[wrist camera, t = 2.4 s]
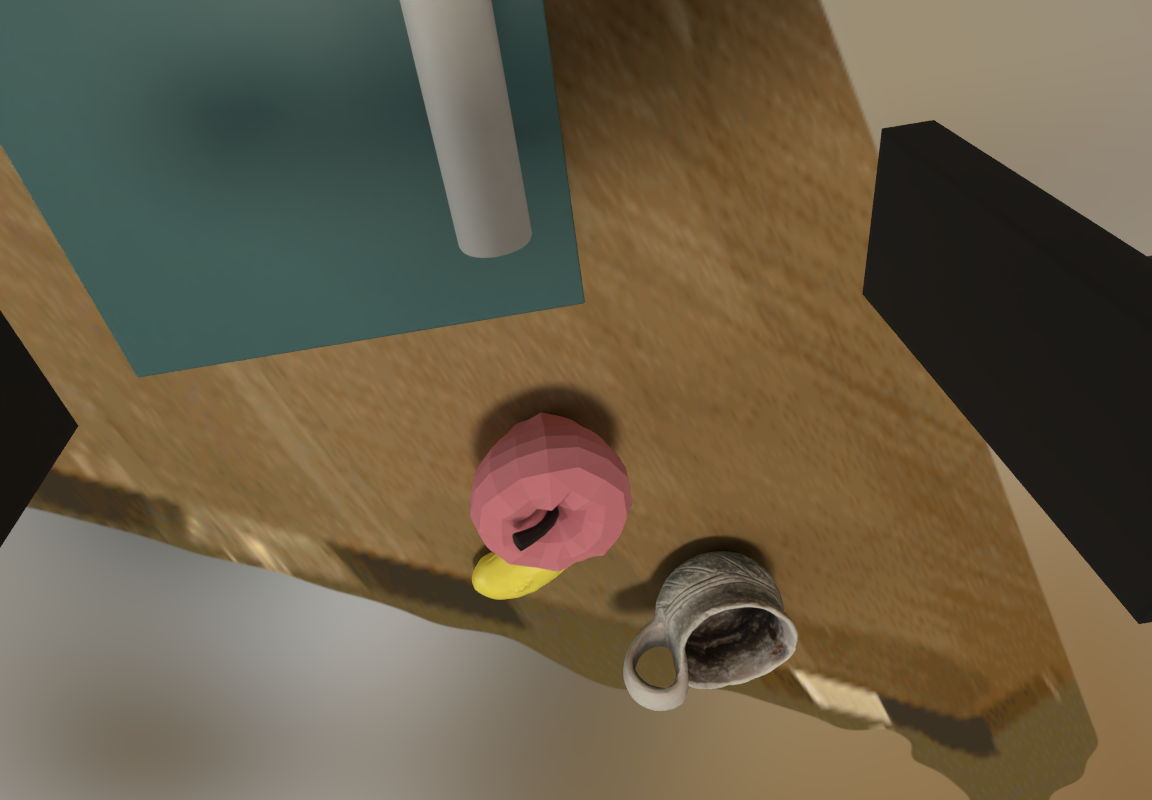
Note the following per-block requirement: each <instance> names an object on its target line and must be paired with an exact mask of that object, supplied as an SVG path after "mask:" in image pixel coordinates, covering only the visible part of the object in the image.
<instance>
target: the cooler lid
mask: <svg viewBox="0 0 1152 800" xmlns="http://www.w3.org/2000/svg"><path fill="white" fill-rule="evenodd" d="M0 144H1V146H2V148H3V149H4V151H5V153H6V155H7V156H8V158H9V160H10V161H11V163H12V165H13V166H14V168H15V170H16V171H17V173H18V175H19V177H20V178H21V180H22V182H23V183H24V185H25V187H26V188H27V190H28V192H29V194H30V195H31V197H32V199H33V200H34V202H35V204H36V205H37V207H38V209H39V211H40V212H41V214H42V216H43V217H44V219H45V221H46V222H47V224H48V226H49V228H50V229H51V231H52V233H53V234H54V236H55V238H56V239H57V241H58V243H59V245H60V246H61V248H62V250H63V251H64V253H65V255H66V256H67V258H68V260H69V262H70V263H71V265H72V267H73V268H74V270H75V272H76V273H77V275H78V277H79V278H80V280H81V282H82V284H83V285H84V287H85V289H86V290H87V292H88V294H89V295H90V297H91V299H92V301H93V302H94V304H95V306H96V307H97V309H98V311H99V312H100V314H101V316H102V318H103V319H104V321H105V323H106V324H107V326H108V328H109V329H110V331H111V333H112V335H113V336H114V338H115V340H116V341H117V343H118V345H119V346H120V348H121V350H122V352H123V353H124V355H125V357H126V358H127V360H128V362H129V363H130V365H131V367H132V369H133V370H134V372H135V374H136V375H137V377H144V376H150V375H156V374H162V373H168V372H174V371H180V370H186V369H192V368H198V367H204V366H210V365H216V364H222V363H228V362H234V361H240V360H246V359H252V358H258V357H264V356H270V355H276V354H282V353H288V352H294V351H300V350H306V349H312V348H318V347H324V346H330V345H336V344H342V343H348V342H354V341H360V340H366V339H372V338H378V337H384V336H390V335H396V334H402V333H408V332H414V331H420V330H426V329H432V328H438V327H444V326H450V325H456V324H462V323H468V322H474V321H480V320H486V319H492V318H498V317H504V316H510V315H517V314H523V313H529V312H535V311H541V310H547V309H553V308H559V307H565V306H571V305H577V304H583V303H584V302H585V300H584V293H583V285H582V278H581V271H580V264H579V256H578V249H577V242H576V234H575V227H574V220H573V213H572V205H571V198H570V191H569V183H568V176H567V169H566V162H565V154H564V147H563V140H562V133H561V125H560V118H559V111H558V103H557V96H556V89H555V82H554V74H553V67H552V60H551V53H550V45H549V38H548V31H547V23H546V16H545V9H544V2H543V0H0Z"/></svg>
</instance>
